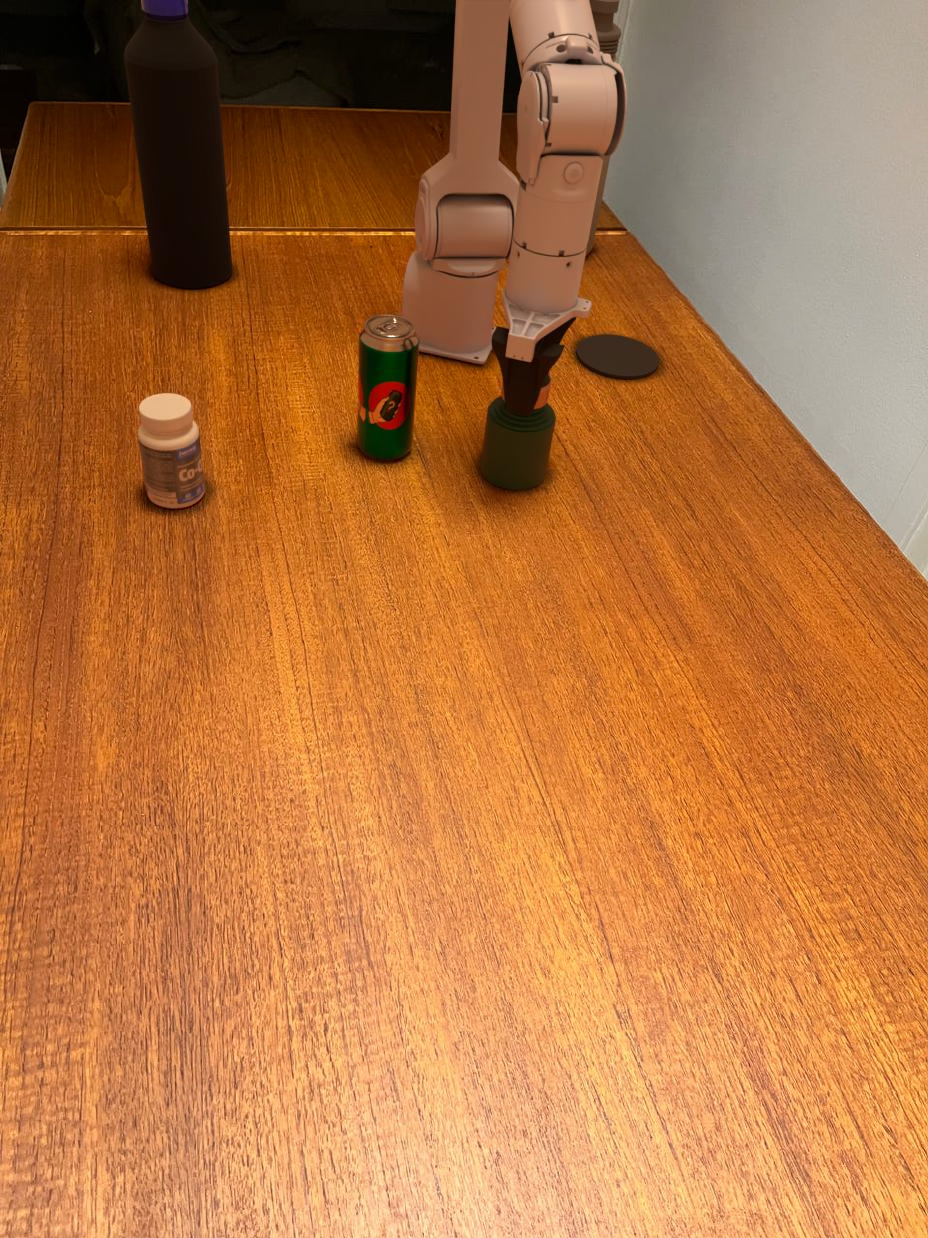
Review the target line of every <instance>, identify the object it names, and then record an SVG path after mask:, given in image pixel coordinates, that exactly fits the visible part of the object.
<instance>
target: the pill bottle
mask: <svg viewBox="0 0 928 1238" xmlns="http://www.w3.org/2000/svg"><path fill="white" fill-rule="evenodd" d="M138 414H139V421H140V425H139V427H138V429H137V440H138V446H139V453H140V458H141V465H142V471H143V477H144V484H145V490H146V495H147V497H148V499H149V500H150V502H152V503H153V504H155V505H157V506H159V507H163V508H166V509H183V508H187V507H190V506H192V505H194V504H196V503H198V502H199V501H200V500H201V499H202V498H203V496H204V495H205V493H206V483H205V475H204V464H203V456H202V445H201V433H200V429H199V426H198V424H197V423H196V422H195V420H194V413H193V405H192V402H191V401H190V399H188V398H187V397H185V396H183V395H180V394H178V393H171V392H163V393H155V394H152V395H150V396H147V397H146V398H144V399H143V400H142V401H140V403H139V405H138Z"/></svg>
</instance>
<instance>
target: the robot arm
mask: <svg viewBox="0 0 928 1238" xmlns="http://www.w3.org/2000/svg"><path fill="white" fill-rule="evenodd" d="M454 16H455V19H454V40H453V59H452V65H453V66H452V83H451V84H452V85H451V106H450V107H451V108H450V127H449V130H450V131H449V150H448V153H447V154H446V155H445V156H444V157H442V159H440V160H439V161H438V162H436V163H435V164H434V165H432V166H431V167H430V168H428V169H427V170H426V171H425V172H424V173H423V174H422V175H421V176H420V180H419V182H418V196H417V201H416V204H415V211H414V236H415V237H414V238H415V244H416V249H417V250H414V251H413V252H412V253H411V255H410V256H409V259H408V262H407V264H406V268H405V272H404V278H403V283H402V298H401V315H400V316H401V317H404V318H406V319H408V320H410V321H411V322H412V323H413V324H414V325H415V327H416V334H417V335H418V337H419V352H421V353H426V354H430V355H434V356H440V357H444V358H448V359H454V360H458V361H461V362H462V361H463V362H468V363H472V364H477V365H485V364H486V362H487V361H488V358H489V357H490V354H491V352H493V353H494V355H495V357H496V359H497V362H498V366H499V368H500V372H501V378H502V379H501V380H503V388H504V399H505V406H506V411H507V412H508V413H513V414H517V415H522V416H526V417H530V415H531V414H532V412H533V410H534V407H535V405H536V402H537V400H538V397H539V394H540V391H541V388H542V385H543V382H544V379H545V377H546V376H547V374H549V375H550V371H551V369H552V368H553V367H554V366H555V365H556V363H557V362H558V361H559V359H560V358H561V356H562V354H563V352H564V350H565V346H566V345H564V344H561V342H562V340H563V338H564V337H565V335H566V333H567V331H568V330H569V329H570V327H571V326H572V325H573V323H575V321H576V320H577V318H578V319H587V318H588V317H589V316H590V314H591V311H592V305H593V303H592V301H590V300H589V299H586V298H583V297H582V298H581V297H580V296H579V293H580V287H581V284H582V283H581V282H582V277H583V272H584V265H585V260H586V256H587V255H586V250H587V245H588V240H589V234H590V229H591V223H592V218H593V213H594V207H595V202H596V196H597V191H598V185H599V180H600V175H601V169H602V164H603V160H602V159H601V156H603V155H605V156H610V157H611V156H612V155H614V154H615V152H616V151H617V149H618V148H619V145H620V143H621V141H622V138H623V134H624V131H625V126H626V120H627V109H628V93H627V92H628V91H627V84H626V79H625V72H624V69H623V68H622V66H621V65H620V64H619V63H618V62H616V61H615V62H612V60H611V56H610V54H603V52H601V51H600V47H599V42H598V38H597V33H596V29H595V24H594V20H593V15H592V11H591V6H590V2H589V0H455V15H454ZM509 23H510V27H511V34H512V39H513V43H514V47H515V53H516V59H517V64H518V68H519V73H520V78H521V84H520V88H519V89H520V90H519V92H518V93H519V94H518V96H517V108H516V128H517V149H516V156H515V161H516V165H515V166H516V172H517V173H518V174H519V176H520V177H519V179H518V178H517V176H516V175H515V174H514V173H513V172H512V171H511V170H510V169H509V168H508V167H506V166H505V165H504V164H503V163H502V162H501V161H500V160H499V159H500V158H499V157H500V144H501V143H500V142H501V129H502V117H503V105H504V103H503V102H504V101H503V100H504V89H505V75H506V73H505V72H506V63H507V61H506V60H507V48H508V35H509ZM507 261H509V262H508V268H507V269H508V270H507V277H506V285H505V287H504V288H503V290H502V295H501V304H502V307H503V308H502V309H503V311H504V315H505V319H506V323H507V327H502V326H494V325H493V324H494V316H495V307H496V300H497V292H498V285H499V277H500V271H505V269H506V263H507Z"/></svg>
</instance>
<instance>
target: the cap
mask: <svg viewBox="0 0 928 1238" xmlns="http://www.w3.org/2000/svg"><path fill="white" fill-rule="evenodd" d="M501 380H502V381H501V388H500V396H502V399H503V400H504V401H505V399H504V388H503V379H501ZM551 382H552V378H551V375H550V373H549V374H547V376H546V377H545V379H544V382H543V385H542V388H541V391H540V394H539V397H538V400H537V402H536V405H535V407H534V409H538V408H541V407H543V406H544V405H546V403H548V400H549V397H550V393H551V386H552V383H551Z"/></svg>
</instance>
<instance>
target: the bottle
mask: <svg viewBox="0 0 928 1238" xmlns="http://www.w3.org/2000/svg"><path fill="white" fill-rule="evenodd" d="M140 2H141V10H142V11H143V12H144V17H143V20H142V23H141V24H140V26H139V27H138V29H137V30H136V32H135V33H134V34H133V36H132V37H131V38H130V40H129V41H128V42H127V44H126V46H125V49H124V53H123V59H124V67H125V74H126V81H127V88H128V90H127V91H128V96H129V104H130V105H129V106H130V111H131V119H132V126H133V127H132V128H133V135H134V143H135V149H136V158H137V165H138V173H139V179H140V187H141V195H142V203H143V211H144V215H145V216H144V218H145V226H146V233H147V240H148V241H147V242H148V249H149V256H150V264H151V270H152V271H151V272H152V275H153V276H154V277H155V278H156V279H157V280H159V281H160V282H161V283H164V284H166V285H168V286H171V287H176V288H181V289H195V290H196V289H205V288H212V287H215V286H217V285H220V284H223V283H224V282H225V281H226V280H228V279H229V278H230V277H231V276H232V274H233V258H232V257H233V256H232V246H231V232H230V218H229V205H228V203H229V202H228V192H227V176H226V164H225V151H224V149H225V148H224V137H223V136H224V135H223V134H224V133H223V123H222V108H221V96H220V95H221V94H220V83H219V82H220V80H219V70H218V69H219V68H218V58H217V55H216V53H215V52H214V49H213V48H212V47H211V45H210V44H209V43H208V41H207V40H206V39H205V38H204V37H203V36H202V35H201V34H200V33H199V32H198V30H197V29H196V28H195V27H194V25H193V24H192V22H191V20H190V17H189V15H188V13H189V11H190V10H189V2H188V0H140Z"/></svg>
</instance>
